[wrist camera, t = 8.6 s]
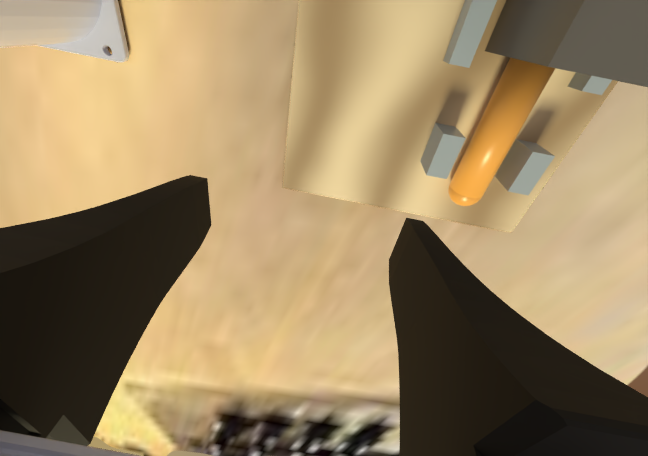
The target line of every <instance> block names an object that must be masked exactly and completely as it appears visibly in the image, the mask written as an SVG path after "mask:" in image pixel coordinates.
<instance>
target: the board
mask: <svg viewBox="0 0 648 456" xmlns="http://www.w3.org/2000/svg"><path fill="white" fill-rule="evenodd" d="M464 2H465V0H299V4H298V15H297V27H296V38H295V49H294V61H293V72H292V83H291V95H290V106H289V117H288V129H287V140H286V151H285V163H284V174H283V185H282V188H286V189H291V190H296V191H301V192H306V193H311V194H316V195H321V196H326V197H331V198H336V199H341V200H346V201H351V202H356V203H362V204H367V205H372V206H377V207H382V208H387V209H392V210H397V211H402V212H407V213H412V214H417V215H422V216H427V217H432V218H438V219H443V220H448V221H453V222H458V223H463V224H468V225H473V226H478V227H483V228H488V229H493V230H498V231H503V232H508V233H511V232H512V231H513V230H514V228H515V227H516V225H517V224H518V223H519V221H520V220H521V218H522V217H523V215H524V214H525V213H526V211H527V210H528V208H529V207H530V205H531V204H532V203H533V201H534V200H535V198H536V197H537V196H538V194H539V193H540V191H541V190H542V188H543V187H544V186H545V184H546V183H547V181H548V180H549V179H550V177H551V176H552V174H553V173H554V171H555V170H556V169H557V167H558V166H559V164H560V163H561V161H562V160H563V159H564V157H565V156H566V154H567V153H568V152H569V150H570V149H571V147H572V146H573V144H574V143H575V142H576V140H577V139H578V137H579V136H580V135H581V133H582V132H583V130H584V129H585V127H586V126H587V125H588V123H589V122H590V120H591V119H592V118H593V116H594V115H595V113H596V112H597V110H598V109H599V108H600V106H601V105H602V103H603V102H604V100H605V99H606V98H607V96H608V95H609V93H610V92H611V91H612V89H613V88H614V86H615V85H616V83H617V82H618V81H615V80H612V81H611V83H610V84H609V85H608V87H607V88H606V90H605V91H604V93H603V94H602V95H598V94H593V93H589V92H584V91H580V90H577V89H574V88H570V87H567V86H568V85H569V83H570V81H571V80H572V78H573V76H574V75H575V73H576V72H571V71H566V70H562V69H557V68H555V70H554V72H553V74H552V75H551V77H550V79H549V81H548V82H547V84H546V86H545V88H544V90H543V91H542V93H541V95H540V97H539V98H538V100H537V102H536V104H535V105H534V107H533V109H532V111H531V112H530V114H529V116H528V118H527V119H526V121H525V123H524V125H523V126H522V128H521V130H520V132H519V133H518V135H517V137H516V139H518V140H523V141H528V142H533V143H537V144H538V145H540V146H541V147H543V148H544V149H545V150H547V151H548V152H550V153H551V154H553V155H554V156H555V157H554V159H553V160H552V162H551V163H550V165H549V166H548V167H547V169H546V170H545V172H544V173H543V175H542V176H541V178H540V179H539V181H538V182H537V184H536V185H535V187H534V188H533V189H532V191H531V192H530V194H529V195H523V194H518V193H513V192H508V191H507V190H506V189H505V187H504V186H503V185H502V184H501V183H500V182H499V180H498V179H497V178H496V177H495V175H496V174H495V175H494V177H493V179H492V181H491V182H490V184H489V186H488V188H487V189H486V191H485V193H484V195H483V196H482V198H481V199H480V200H479V201H478V202H477V203H475V204H473V205H470V206H460V205H457V204H456V203H454V202H453V201H452V200H451V198H450V196H449V193H448V189H449V185H450V183H451V181H452V178H453V176H454V174H455V172H456V170H457V168H458V166H459V164H460V162H461V160H462V158H463V155H464V153H465V151H466V149H467V147H468V145H469V143H470V141H471V139H472V137H473V134H474V132H475V130H476V128H477V126H478V124H479V122H480V120H481V118H482V116H483V114H484V111H485V109H486V107H487V105H488V103H489V101H490V99H491V97H492V95H493V93H494V91H495V88H496V86H497V84H498V82H499V80H500V78H501V76H502V74H503V72H504V70H505V68H506V65H507V63H508V61H509V59H510V57H506V56H502V55H498V54H494V53H490V52H486V51H485V49H486V47H487V44H488V42H489V40H490V37H491V35H492V33H493V30H494V28H495V25H496V23H497V21H498V18H499V16H500V14H501V11H502V9H503V7H504V4H505V2H506V0H497V2H496V4H495V7H494V9H493V11H492V14H491V16H490V19H489V21H488V24H487V26H486V28H485V31H484V33H483V36H482V38H481V41H480V43H479V45H478V48H477V50H476V53H475V55H474V57H473V60H472V62H471V65H470V67H469V68H467V67H462V66H457V65H452V64H448V63H446V62H444V61H443V60H444V57H445V54H446V52H447V49H448V46H449V43H450V41H451V38H452V35H453V32H454V29H455V27H456V24H457V21H458V18H459V16H460V13H461V10H462V7H463V4H464ZM435 123H439V124H444V125H449V126H454V127H456V128H457V129H458V130H459V131H460V132H461V133H462V134H463V136H464V137H465V138H466V139H465V141H464V143H463V146H462V148H461V150H460V152H459V154H458V156H457V158H456V161H455V163H454V165H453V167H452V169H451V171H450V173H449V175H448V178H447V179H443V178H438V177H433V176H428V175H426V173H425V171H424V169H423V166H422V164H421V162H420V161H421V158H422V156H423V153H424V151H425V148H426V145H427V143H428V140H429V138H430V135H431V133H432V130H433V128H434V125H435ZM516 139H515V140H516ZM515 140H514V142H515ZM514 142H513V144H514ZM513 144H512V145H513ZM511 147H512V146H511ZM511 147H510V149H511ZM510 149H509V151H510ZM509 151H508V152H509ZM507 154H508V153H507ZM507 154H506V156H507ZM506 156H505V158H506ZM505 158H504V159H505ZM503 161H504V160H503ZM503 161H502V163H503ZM502 163H501V165H502ZM501 165H500V166H501ZM499 168H500V167H499ZM499 168H498V170H499ZM498 170H497V172H498ZM497 172H496V173H497Z"/></svg>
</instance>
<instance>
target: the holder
mask: <svg viewBox="0 0 648 456" xmlns="http://www.w3.org/2000/svg"><path fill="white" fill-rule="evenodd" d="M496 2H497V0H465V2H464V4H463V7H462V10H461V13H460V16H459V18H458V21H457V24H456V27H455V29H454V32H453V35H452V38H451V41H450V43H449V46H448V49H447V52H446V54H445V57H444V60H443V61H444V62H446V63H448V64H452V65H457V66H462V67H467V68H469V67H470V65H471V62H472V60H473V57H474V55H475V53H476V50H477V48H478V45H479V43H480V41H481V38H482V36H483V33H484V31H485V28H486V26H487V24H488V21H489V19H490V16H491V14H492V11H493V9H494V7H495V4H496ZM611 81H612V80H611V79H606V78H601V77H596V76H591V75H586V74H581V73H575V75H574V76H573V78H572V80H571V81H570V83H569V85H568V86H567V87H570V88H574V89H577V90H580V91H584V92H589V93H593V94H598V95H602V94H603V93H604V91H605V90H606V88H607V87H608V85H609V84H610V83H611Z"/></svg>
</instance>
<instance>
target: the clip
mask: <svg viewBox="0 0 648 456" xmlns="http://www.w3.org/2000/svg"><path fill="white" fill-rule="evenodd" d="M465 139H466V138H465V137H464V136H463V134H462V133H461V132H460V131H459V130H458V129H457V128H456V127H454V126H449V125H444V124H439V123H435V125H434V128H433V130H432V133H431V135H430V138H429V140H428V143H427V145H426V148H425V151H424V153H423V156H422V158H421V161H420V162H421V164H422V166H423V169H424V171H425V173H426V175H428V176H433V177H438V178H443V179H447V178H448V175H449V173H450V171H451V169H452V167H453V165H454V163H455V161H456V158H457V156H458V154H459V152H460V150H461V148H462V146H463V143H464V141H465ZM554 157H555V156H554V155H553V154H551V153H550V152H548V151H547V150H545V149H544V148H543V147H541V146H540V145H538V144H537V143H533V142H528V141H523V140H518V139H516V140H515V142H514V144H513V145H512V147H511V149H510V151H509V152H508V154H507V156H506V158H505V159H504V161H503V163H502V165H501V166H500V168H499V170H498V172H497V173H496V175H495V177H496V178H497V179H498V180H499V182H500V183H501V184H502V185H503V186H504V187H505V189H506V190H507V191H508V192H513V193H518V194H523V195H529V194H530V192H531V191H532V189H533V188H534V187H535V185H536V184H537V182H538V181H539V179H540V178H541V176H542V175H543V173H544V172H545V170H546V169H547V167H548V166H549V165H550V163H551V162H552V160H553V159H554Z"/></svg>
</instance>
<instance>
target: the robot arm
mask: <svg viewBox="0 0 648 456" xmlns="http://www.w3.org/2000/svg"><path fill="white" fill-rule="evenodd" d="M33 45H36V46H41V47H46V48H51V49H56V50H61V51H66V52H71V53H75V54H80V55H85V56H90V57H95V58H100V59H105V60H110V61H115V62H126V61H127V60H128V59H129V51H128V46H127V42H126V37H125V32H124V27H123V22H122V18H121V13H120V8H119V3H118V0H0V48H7V47H20V46H33ZM108 46H109V47H110V48H111V50H112V54H110V53H109V51H108ZM210 226H211V216H210V205H209V193H208V182H207V178H202V177H197V176H192V175H189V176H185V177H182V178H179V179H176V180H173V181H170V182H167V183H164V184H162V185H159V186H156V187H153V188H151V189H148V190H145V191H142V192H140V193H137V194H134V195H131V196H128V197H125V198H122V199H119V200H116V201H113V202H110V203H107V204H104V205H101V206H97V207H94V208H90V209H87V210H83V211H80V212H76V213H72V214H67V215H63V216H59V217H55V218H51V219H46V220H41V221H36V222H31V223H25V224H20V225H15V226H10V227H5V228H0V456H139V455H133V454H128V453H122V452H116V451H111V450H106V449H100V448H95V447H89V446H88V445H89V444H90V443H91V441H92V438H93V436H94V434H95V431H96V429H97V427H98V425H99V422H100V420H101V418H102V416H103V414H104V411H105V409H106V407H107V405H108V403H109V400H110V398H111V396H112V394H113V392H114V390H115V388H116V385H117V383H118V381H119V379H120V377H121V375H122V373H123V371H124V369H125V367H126V365H127V363H128V361H129V359H130V357H131V355H132V353H133V351H134V350H135V348H136V346H137V344H138V342H139V340H140V338H141V336H142V335H143V333H144V331H145V329H146V327H147V325H148V324H149V322H150V320H151V318H152V317H153V315H154V313H155V311H156V310H157V308H158V306H159V305H160V303H161V302H162V300H163V298H164V297H165V295H166V294H167V293H168V291H169V290H170V288H171V287H172V286H173V284H174V283H175V281H176V280H177V279H178V277H179V276H180V275H181V273H182V272H183V270H184V269H185V268H186V266H187V265H188V263H189V262H190V261H191V259H192V258H193V256H194V255H195V254H196V252H197V251H198V249H199V248H200V246H201V244H202V242H203V241H204V239H205V237H206V235H207V233H208V231H209V229H210ZM389 286H390V293H391V301H392V307H393V314H394V321H395V328H396V335H397V343H398V354H399V382H400V456H648V397H646V396H644V395H643V394H641V393H639V392H637V391H636V390H634V389H632V388H631V387H629V386H627V385H626V384H624V383H622V382H620V381H619V380H617V379H615V378H614V377H612V376H610V375H608V374H607V373H605V372H603V371H601V370H600V369H598V368H597V367H595V366H593V365H592V364H590V363H589V362H587V361H586V360H584V359H582V358H581V357H579V356H578V355H576V354H575V353H573V352H572V351H570V350H569V349H567V348H565V347H564V346H562V345H561V344H560V343H558V342H557V341H555V340H554V339H552V338H551V337H549V336H548V335H546V334H545V333H544V332H542V331H541V330H540V329H538V328H537V327H536V326H534V325H533V324H531V323H530V322H529V321H527V320H526V319H525V318H523V317H522V316H521V315H519V314H518V313H517V312H516V311H514V310H513V309H512V308H510V307H509V306H508V305H507V304H506V303H505V302H503V301H502V300H501V299H500V298H499V297H497V296H496V295H495V294H494V293H493V292H492V291H490V290H489V289H488V288H487V287H486V286H485V285H484V284H483V283H482V282H481V281H480V280H479V279H478V278H476V277H475V276H474V275H473V274H472V273H471V272H470V271H469V270H468V269H467V268H466V267H465V266H464V265H463V264H462V263H461V262H460V260H459V259H458V258H457V257H456V256H455V255H454V254H453V253H452V252H451V251H450V250H449V249H448V247H447V246H446V245H445V244H444V243H443V242H442V241H441V240H440V239H439V237H438V236H437V235H436V234H435V233H434V232H433V231H432V230H431V229H430V227H429V226H428V225H427V224H426V223H425V222H423V221H420V220H415V219H410V218H406V220H405V222H404V225H403V227H402V230H401V232H400V234H399V237H398V239H397V242H396V244H395V247H394V249H393V252H392V254H391V256H390V259H389Z"/></svg>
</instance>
